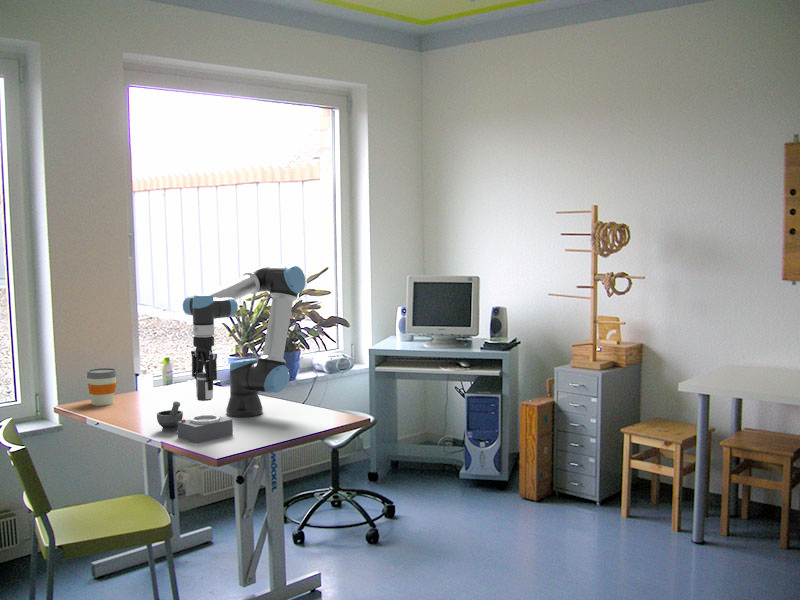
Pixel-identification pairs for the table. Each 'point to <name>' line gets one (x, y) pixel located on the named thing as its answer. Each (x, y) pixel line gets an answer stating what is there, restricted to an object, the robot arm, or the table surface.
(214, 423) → the dark grey box
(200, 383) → the lens
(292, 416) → the table surface
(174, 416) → the mortar and pestle
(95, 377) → the reusable coffee cup
